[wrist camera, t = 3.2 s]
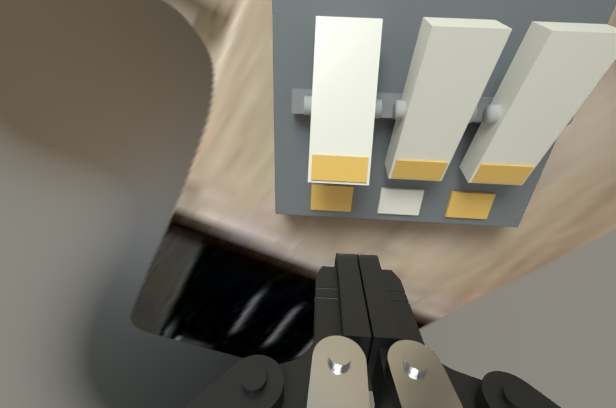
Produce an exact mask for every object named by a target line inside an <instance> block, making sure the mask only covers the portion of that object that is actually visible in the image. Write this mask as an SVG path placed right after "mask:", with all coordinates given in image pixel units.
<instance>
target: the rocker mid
mask: <svg viewBox="0 0 616 408" xmlns="http://www.w3.org/2000/svg"><path fill="white" fill-rule="evenodd" d="M511 31H512V29H511V28H509V27H508V26H506V25H504V24H502V23H500V22H499V21H497V20H488V19H462V18H436V17H423V19H422V23H421V26H420V30H419V34H418V38H417V42H416V45H415V49H414V53H413V57H412V60H411V64H410V68H409V72H408V76H407V79H406V83H405V87H404V91H403V95H402V98H401V100H396V101H395V103H394V107H393V119H396V121H395V125H394V129H393V132H392V136H391V140H390V144H389V147H388V151H387V155H386V159H385V167H386V172H387V176H388V179H407V180H426V181H442V179H443V177H444V174H445V172H446V170H447V168H448V166H449V164H450V162H451V159H452V157H453V155H454V153H455V151H456V149H457V147H458V144H459V142H460V140H461V138H462V136H463V134H464V132H465V130H466V127H467V125H468V123H471V122H473V121H474V119H475V118H476V115H477V104H478V102H479V100H480V97H481V95H482V93H483V91H484V89H485V87H486V85H487V82H488V80H489V78H490V76H491V74H492V72H493V70H494V67H495V65H496V63H497V61H498V59H499V57H500V55H501V52H502V50H503V48H504V46H505V44H506V42H507V40H508V37H509V35H510V33H511Z"/></svg>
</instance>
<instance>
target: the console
mask: <svg viewBox="0 0 616 408" xmlns="http://www.w3.org/2000/svg"><path fill="white" fill-rule="evenodd" d="M615 4H616V0H272V14H273V78H274V142H275V207H276V214H287V215H305V216H324V217H342V218H360V219H378V220H396V221H414V222H433V223H451V224H469V225H487V226H505V227H518V225H519V223H520V221H521V219H522V216H523V214H524V212H525V210H526V207H527V205H528V203H529V200H530V198H531V196H532V194H533V191H534V189H535V187H536V184H537V182H538V180H539V178H540V175H541V173H542V171H543V169H544V166H545V164H546V162H547V159H548V157H549V155H550V153H551V150H552V148H553V146H554V143H555V142H554V143H553V144H552V146H551V147H550V148H549V150H548V151H547V152H546V154H545V155H544V156H543V158H542V159H541V160H540V162H539V163H538V164H537V166H536V167H535V168H534V170H533V171H532V173H531V174H530V175H529V177H528V178H527V179H526V181H525V182H524V183H523V185H503V184H484V183H468V182H467V180H466V178H465V176H464V174H463V172H462V171H461V169H460V167H459V166H460V164H461V162H462V160H463V158H464V156H465V154H466V152H467V150H468V148H469V146H470V144H471V142H472V140H473V138H474V136H475V134H476V132H477V130H478V128H479V126H480V124H481V122H482V114H483V111H484V109H485V107H486V106H487V105H489V104H491V102H492V100H493V98H494V96H495V94H496V92H497V90H498V88H499V86H500V84H501V82H502V80H503V78H504V76H505V74H506V72H507V70H508V69H509V67H510V65H511V63H512V61H513V59H514V57H515V55H516V53H517V51H518V49H519V47H520V45H521V43H522V41H523V39H524V37H525V35H526V33H527V31H528V29H529V27H530V25H531V23H532V21H539V22H564V23H590V24H607V23H608V20H609V18H610V16H611V14H612V11H613V9H614V7H615ZM316 16H329V17H354V18H380V19H383V23H382V35H381V47H380V59H379V71H378V83H377V95H376V99H382V112H381V116H380V118H375V119H374V131H373V143H372V155H371V167H370V179H369V185H350V184H331V183H312V182H308V166H309V146H310V126H311V115H304V97H305V96H312V86H313V66H314V46H315V26H316ZM423 17H436V18H462V19H488V20H497V21H499V22H500V23H502V24H504V25H506V26H508V27H509V28H511V29H512V31H511V33H510V35H509V37H508V40H507V42H506V44H505V46H504V48H503V50H502V52H501V55H500V57H499V59H498V61H497V63H496V65H495V67H494V70H493V72H492V74H491V76H490V78H489V80H488V82H487V85H486V87H485V89H484V91H483V93H482V95H481V97H480V100H479V102H478V104H477V115H476V118H475V119H474V121H473V122H471V123H468V125H467V127H466V130H465V132H464V134H463V136H462V138H461V140H460V142H459V144H458V147H457V149H456V151H455V153H454V155H453V157H452V159H451V162H450V164H449V166H448V168H447V170H446V172H445V174H444V177H443V179H442V181H426V180H407V179H388V176H387V172H386V167H385V159H386V155H387V151H388V147H389V144H390V140H391V136H392V132H393V129H394V125H395V121H396V119H393V107H394V103H395V101H396V100H401V98H402V95H403V91H404V87H405V83H406V79H407V76H408V72H409V68H410V64H411V60H412V57H413V53H414V49H415V45H416V42H417V38H418V34H419V30H420V26H421V23H422V19H423ZM555 141H556V140H555Z"/></svg>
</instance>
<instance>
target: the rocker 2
mask: <svg viewBox="0 0 616 408" xmlns="http://www.w3.org/2000/svg"><path fill="white" fill-rule="evenodd" d="M615 59H616V27H613V26H610V25H607V24H590V23H564V22H539V21H532V23H531V25H530V27H529V29H528V31H527V33H526V35H525V37H524V39H523V41H522V43H521V45H520V47H519V49H518V51H517V53H516V55H515V57H514V59H513V61H512V63H511V65H510V67H509V69H508V70H507V72H506V74H505V76H504V78H503V80H502V82H501V84H500V86H499V88H498V90H497V92H496V94H495V96H494V98H493V100H492V102H491V104H489V105H487V106H486V107H485V109H484V111H483V114H482V122H481V124H480V126H479V128H478V130H477V132H476V134H475V136H474V138H473V140H472V142H471V144H470V146H469V148H468V150H467V152H466V154H465V156H464V158H463V160H462V162H461V164H460V166H459V167H460V169H461V171H462V172H463V174H464V176H465V178H466V180H467V182H468V183H484V184H503V185H523V183H524V182H525V181H526V179H527V178H528V177H529V175H530V174H531V173H532V171H533V170H534V168H535V167H536V166H537V164H538V163H539V162H540V160H541V159H542V158H543V156H544V155H545V154H546V152H547V151H548V150H549V148H550V147H551V146H552V144H553V143H554V142H555V140H556V139H557V137H558V136H559V135H560V133H561V132H562V131H563V129H564V128H565V127H566V126H567V125H569V124H570V123H571V121H572V120H573V117H574V115H575V113H576V112H577V110H578V109H579V108H580V106H581V105H582V104H583V102H584V101H585V100H586V98H587V97H588V96H589V94H590V93H591V92H592V90H593V89H594V88H595V86H596V85H597V83H598V82H599V81H600V79H601V78H602V77H603V75H604V74H605V73H606V71H607V70H608V69H609V67H610V66H611V65H612V63H613V62H614V61H615Z"/></svg>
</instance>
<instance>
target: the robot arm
mask: <svg viewBox="0 0 616 408" xmlns="http://www.w3.org/2000/svg"><path fill="white" fill-rule="evenodd" d="M369 391H373V396H374V402H375V407H374V408H561V407H559V406H558V405H556V404H555V403H554V402H552V401H551V400H550V399H548V398H547V397H546V396H544V395H543V394H542V393H540V392H539V391H537V390H536V389H534V388H533V387H532V386H531V385H529V384H528V383H526V382H525V381H523V380H522V379H520V378H518V377H517V376H514V375H512V374H509V373H506V372H501V371H493V372H490V373H487V374H486V375H485V376H484V378H483V379H482V380H480V379H477V378H474V377H471V376H468V375H466V374H463V373H460V372H457V371H455V370H452V369H450V368H448V367H447V366H445V365H443V364H442V363H441V361H440V360H439V358H438V357H437V355H436V354H435V353H434V352H433V351H432V350H431V349H429V348H428V347H426V346H425V344H424V342H423V340H422V337H421V334H420V331H419V329H418V326H417V323H416V321H415V318H414V315H413V312H412V310H411V307H410V304H408V299H407V296H406V294H405V291H404V288H403V285H402V283H401V280H400V279H399V278H398V277H397V276H396V275H395V274H394V273H393V272H392V270H381V267H380V263H379V260H378V257H377V256H376V255H358V254H357V255H356V254H339V253H336V257H335V267H325V266H322V267H321V269H320V270H319V272H318V274H317V275H316V287H315V303H314V335H313V345H312V347H311V348H310V349H309V351H308V352H307V353H306V354H305V355H303V356H302V357H300V358H298V359H296V360H293V361H290V362H286V363H282V364H278V363H277V362H276V361H275V360H273V359H272V358H270V357H267V356H264V355H252V356H248V357H246V358H244V359H242V360H240V361H239V362H238V363H236V364H235V365H234V366H233V367H231V368H230V369H229V370H228V371H227V372H226V373H224V374H223V375H222V376H221V377H220V378H219V379H217V380H216V381H215V382H214V383H213V384H212V385H211V386H209V387H208V388H207V389H206V390H205V391H204V392H203V393H201V394H200V395H199V396H198V397H197V398H196V399H194V400H193V401H192V402H191V403H190V404H189V405H187V406H186V407H185V408H370V403H369Z"/></svg>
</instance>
